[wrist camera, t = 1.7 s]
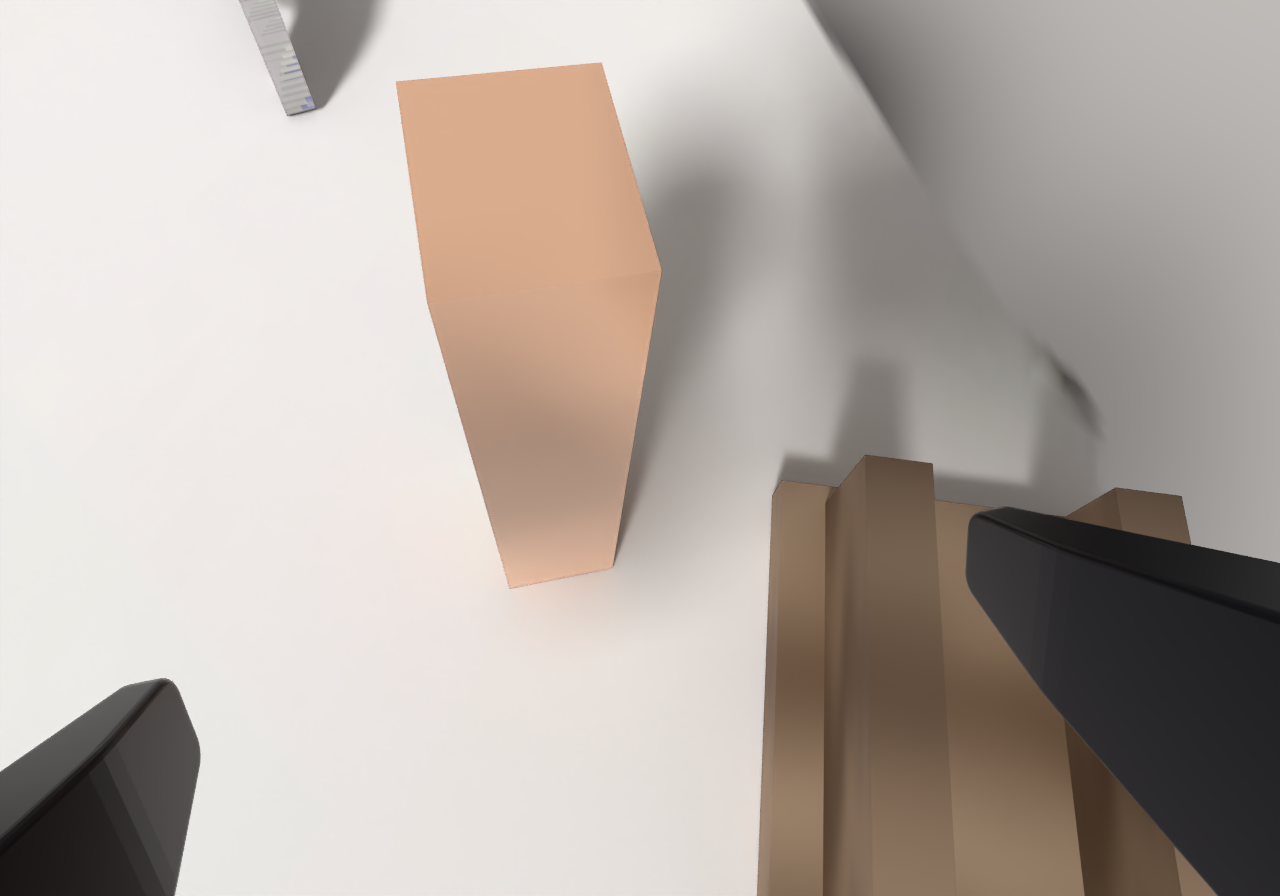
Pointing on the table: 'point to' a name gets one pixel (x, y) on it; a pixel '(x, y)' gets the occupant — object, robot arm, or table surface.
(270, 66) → the caliper
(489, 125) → the clay block
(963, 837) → the slot rack
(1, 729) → the table surface
